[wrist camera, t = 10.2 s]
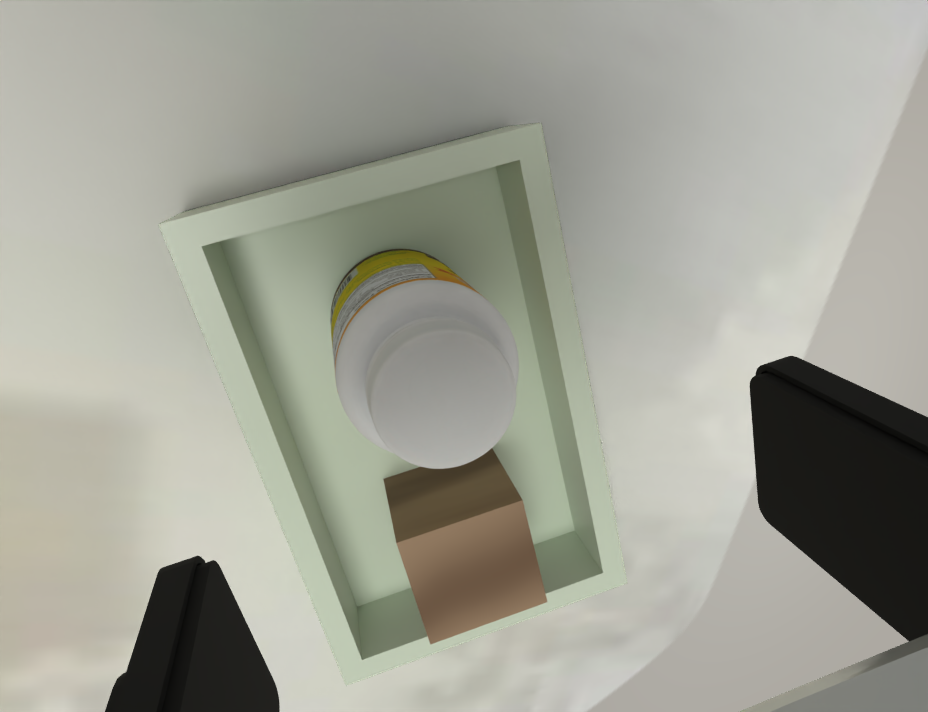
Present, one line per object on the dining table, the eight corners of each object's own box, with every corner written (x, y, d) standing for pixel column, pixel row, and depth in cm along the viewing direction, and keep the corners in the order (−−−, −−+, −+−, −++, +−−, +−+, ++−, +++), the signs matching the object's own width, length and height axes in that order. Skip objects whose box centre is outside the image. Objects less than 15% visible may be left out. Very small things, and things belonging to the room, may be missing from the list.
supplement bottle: (479, 353, 28) (564, 459, 18) (354, 394, 27) (375, 526, 18) (445, 227, 26) (521, 273, 16) (310, 267, 25) (308, 339, 16)
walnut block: (383, 478, 29) (396, 543, 24) (489, 444, 29) (522, 500, 25) (412, 568, 30) (430, 644, 26) (512, 533, 31) (547, 602, 26)
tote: (183, 211, 24) (157, 224, 21) (507, 126, 26) (541, 122, 22) (342, 618, 31) (345, 685, 28) (590, 531, 33) (627, 582, 29)
